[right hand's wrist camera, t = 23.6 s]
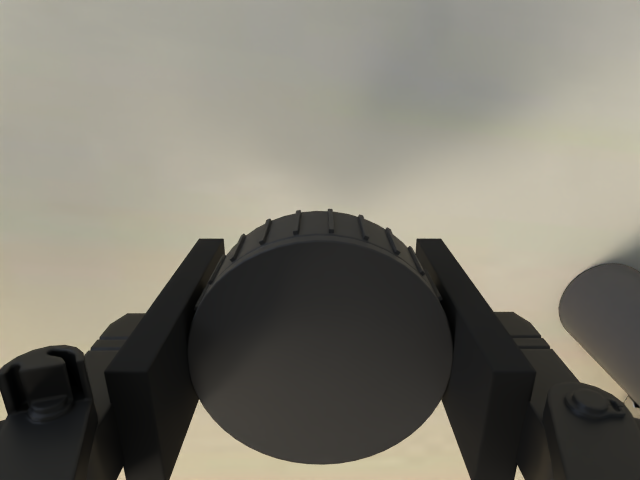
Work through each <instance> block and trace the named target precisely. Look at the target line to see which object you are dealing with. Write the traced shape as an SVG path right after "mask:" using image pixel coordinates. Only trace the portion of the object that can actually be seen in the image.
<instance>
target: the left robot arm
mask: <svg viewBox="0 0 640 480" xmlns="http://www.w3.org/2000/svg"><path fill="white" fill-rule="evenodd" d="M624 404H625V405H626V407H627V408H628V409H629V411H630V412H631V413H632V415H633V417H634V418H638V419H640V406H639V405H638V404H637V403H636V402H635V401H634V400H633V399H632V398H631V397H630V396H629V395H628V397H627V398H626V400H625V401H624Z"/></svg>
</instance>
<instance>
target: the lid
mask: <svg viewBox="0 0 640 480" xmlns="http://www.w3.org/2000/svg"><path fill="white" fill-rule="evenodd" d="M441 300H442V297H441V295H440V293H439V292H438V290H437V288H436V286H435V284H434V282H433V280H432V279H431V277H430V275H429V273H428V271H427V269H424V270H423V268H422V266H421V264H420V262H419V260H418V258H417V256H416V254H415V252H414V250H413V248H412V247H411V246H409V247H408V248H407V247H406V246H405V244H404V243H403V242H402V241H400V240H399V239H398V238H397V237H395V236H394V235H393V234H392V232H391V229H389V228H388V227H387V228H386V230H385V229H384V228H382V227H380V226H379V225H377V224H375V223H372V222H370V221H368V220H366V219H364V217H363V216H362V215H359V216H358V217H356V216H353V215H350V214H345V213H338V212H333V210H332V209H328V211H312V212H301V210H298V211H296V214H292V215H287V216H283V217H281V218H278V219H275V220H272V221H271V219H268V220H266V223H265V224H264V225H262V226H260V227H258V228H256V229H255V230H253V231H252V232H250V233H249V234H248V235H245V234H243V235H241V237H240V239H239V241H238V243H237V244H236V245H235V246H234V247H233V248H232V249H231V250H230V252H229V253H228V254H227V255H224V254H223V255H222V257H221V259H220V260H219V262H218V264H217V266H216V268H215V270H214V272H213V274H212V275H211V277H210V279H209V281H208V283H207V285H206V287H205V289H204V290H203V292H202V294H201V296H200V298H199V300H198V302H197V304H196V305H195V308H194V310H195V311H196V313H195V315H194V318H193V320H192V323H191V327H190V331H189V335H188V344H187V357H188V365H189V373H190V377H191V381H192V384H193V386H194V389H195V391H196V394H197V396H198V398H199V399H200V401H201V403H202V405H203V406H204V408H205V409H206V411H207V412H208V413H209V414H210V416H211V417H212V418H213V420H214V421H215V422H216V423H217V424H218V425H220V426H221V427H222V428H223V429H224V430H225V431H226V432H227V433H229V434H230V435H231V436H232V437H234V438H235V439H236V440H238V441H240V442H241V443H243V444H245V445H246V446H248V447H250V448H252V449H254V450H256V451H258V452H260V453H263V454H265V455H268V456H271V457H274V458H277V459H281V460H286V461H290V462H296V463H304V464H338V463H345V462H350V461H356V460H359V459H363V458H366V457H370V456H372V455H375V454H377V453H380V452H382V451H385V450H387V449H389V448H390V447H392V446H394V445H396V444H398V443H399V442H401V441H402V440H404V439H405V438H407V437H408V436H410V435H411V434H412V433H413V432H414V431H416V430H417V429H418V428H419V427H420V426H421V425H422V424H423V423H424V422H425V421H426V420H427V419H428V418H429V416H430V415H431V414H432V413H433V411H434V410H435V408H436V407H437V405H438V404H439V402H440V401H441V399H442V396H443V394H444V392H445V390H446V388H447V385H448V382H449V379H450V376H451V368H452V361H453V340H452V333H451V329H450V323H449V321H448V319H447V316H446V314H445V312H444V310H443V308H442V306H441V304H440V302H439V301H441Z"/></svg>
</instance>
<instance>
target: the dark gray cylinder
mask: <svg viewBox="0 0 640 480" xmlns="http://www.w3.org/2000/svg"><path fill="white" fill-rule="evenodd" d="M559 316H560V320H561V323H562V325H563V327H564V328H565V329H566V330H567V331H568V333H569V334H570V335H571V336H572V337H573V338H574V339H575V340H576V341H577V342H578V343H579V344H580V345H581V346H582V347H583V348H584V349H585V350H586V351H587V352H588V353H589V354H590V355H591V356H592V357H593V358H594V360H595V361H596V362H597V363H598V364H599V365H600V366H601V367H602V368H603V369H604V370H605V371H606V372H607V373H608V374H609V375H610V376H611V377H612V378H613V379H614V380H615V381H616V382H617V383H618V384H619V385H620V387H621V388H622V389H623V390H624V391H625V392H626V393H627V394H628V395H629V396H630V397H631V398H632V399H633V400H634V401H635V402H636V403H637V404H638V405H639V406H640V272H639V271H637V270H635V269H634V268H632V267H629V266H627V265H622V264H604V265H600V266H596V267H594V268H591V269H589V270H587V271H585V272H583V273H582V274H580V275H579V276H578V277H577V278H575V279H574V280H573V281H572V282H571V283H570V285H569V286H568V287H567V288H566V290H565V292H564V293H563V296H562V298H561V301H560V306H559Z"/></svg>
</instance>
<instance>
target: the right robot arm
mask: <svg viewBox="0 0 640 480" xmlns="http://www.w3.org/2000/svg"><path fill="white" fill-rule="evenodd" d="M223 254H224V255H225V250H224V239H199V240H198V241H197V243H196V244H195V245H194V247H193V248H192V250H191V251H190V252H189V254H188V255H187V257H186V258H185V259H184V261H183V262H182V263H181V265H180V266H179V268H178V269H177V270H176V272H175V273H174V275H173V276H172V277H171V279H170V280H169V282H168V283H167V284H166V286H165V287H164V289H163V290H162V291H161V293H160V294H159V296H158V297H157V298H156V300H155V301H154V302H153V304H152V305H151V307H150V308H149V309H148V311H147V312H146V313H127V314H126V315H124V316H123V317H121V318H119V319H118V320H116V321H115V322H113V323H112V324H110V325H109V326H108V328H107V329H106V330H105V331H104V332H103V334H102V335H101V336H100V339H99V340H97V341H96V342H95V343H94V345H93V346H92V347H91V350H90V351H88V352H87V353H86V354H85V355H84V354H83V352H82V351H81V350H79V349H78V348H77V347H72V346H67V345H57V346H48V347H44V348H39V349H35V350H32V351H30V352H27V353H25V354H23V355H20V356H18V357H16V358H15V359H13V360H12V361H10V362H8V363H7V364H5V365H4V366H3V367H2V368H1V369H0V391H1V394H2V398H3V401H4V404H5V407H6V410H7V413H8V416H7V418H6V420H3V421H0V480H117V478H118V476H119V474H120V472H121V470H122V468H123V467H124V472H125V476H126V480H169V479H170V476H171V474H172V471H173V468H174V466H175V463H176V460H177V457H178V455H179V452H180V449H181V447H182V444H183V441H184V438H185V436H186V433H187V430H188V428H189V425H190V422H191V419H192V417H193V414H194V411H195V409H196V406H197V403H198V400H199V398H198V396H197V394H196V391H195V389H194V386H193V384H192V381H191V377H190V373H189V365H188V357H187V344H188V335H189V331H190V327H191V323H192V320H193V318H194V315H195V313H196V311H195V310H194V308H195V305H196V304H197V302H198V300H199V298H200V296H201V294H202V292H203V290H204V289H205V287H206V285H207V283H208V281H209V279H210V277H211V275H212V274H213V272H214V270H215V268H216V266H217V264H218V262H219V260H220V259H221V257H222V255H223ZM416 256H417V258H418V260H419V262H420V264H421V266H422V268H423V270H424V269H427V271H428V273H429V275H430V277H431V279H432V280H433V282H434V284H435V286H436V288H437V290H438V292H439V293H440V295H441V297H442V300H441V301H439V302H440V304H441V306H442V308H443V310H444V312H445V314H446V316H447V319H448V321H449V323H450V329H451V333H452V340H453V361H452V368H451V376H450V379H449V382H448V385H447V388H446V390H445V392H444V394H443V396H442V399H441V400H442V402H443V405H444V408H445V410H446V413H447V416H448V419H449V421H450V424H451V427H452V429H453V432H454V435H455V438H456V440H457V443H458V446H459V449H460V451H461V454H462V457H463V459H464V462H465V465H466V468H467V470H468V473H469V476H470V478H471V480H514V478H515V473H516V468H517V465H518V467H519V469H520V471H521V473H522V475H523V477H524V479H525V480H640V419H638V418H634V417H633V415H632V413H631V412H630V411H629V409H628V408H627V407H626V405H625V404H624V403H622V402H621V401H620V400H618V399H617V398H616V397H614V396H613V395H612V394H610V393H608V392H606V391H604V390H602V389H599V388H597V387H595V386H591V385H587V384H584V383H580V382H579V381H578V379H577V378H576V377H575V376H574V375H573V373H572V372H571V371H570V370H569V369H568V367H567V366H566V365H565V364H564V363H563V361H562V360H561V359H560V358H559V357H558V355H557V354H556V353H555V352H554V351H553V349H550V346H549V345H548V343H547V342H546V341H545V340H544V339H543V338H541V335H540V334H539V333H538V331H537V330H536V329H535V328H534V327H533V325H532V324H531V323H530V322H528V321H527V320H525V319H523V318H522V317H520V316H519V315H517V314H515V313H514V312H493V310H492V309H491V308H490V306H489V305H488V303H487V302H486V301H485V299H484V298H483V296H482V295H481V294H480V292H479V291H478V290H477V288H476V287H475V285H474V284H473V283H472V281H471V280H470V278H469V277H468V276H467V274H466V273H465V271H464V270H463V269H462V267H461V266H460V264H459V263H458V262H457V260H456V259H455V257H454V256H453V255H452V253H451V252H450V251H449V249H448V248H447V246H446V245H445V244H444V242H443V241H442V239H417V241H416Z"/></svg>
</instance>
